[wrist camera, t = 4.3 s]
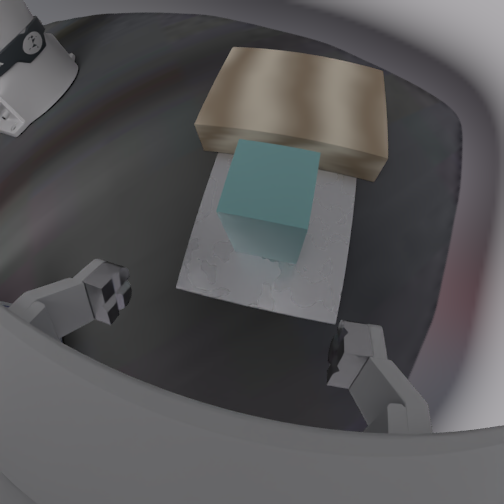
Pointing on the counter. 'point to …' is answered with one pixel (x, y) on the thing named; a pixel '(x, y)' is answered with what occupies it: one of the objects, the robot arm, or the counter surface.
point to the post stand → (268, 270)
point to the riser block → (299, 108)
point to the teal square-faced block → (268, 199)
